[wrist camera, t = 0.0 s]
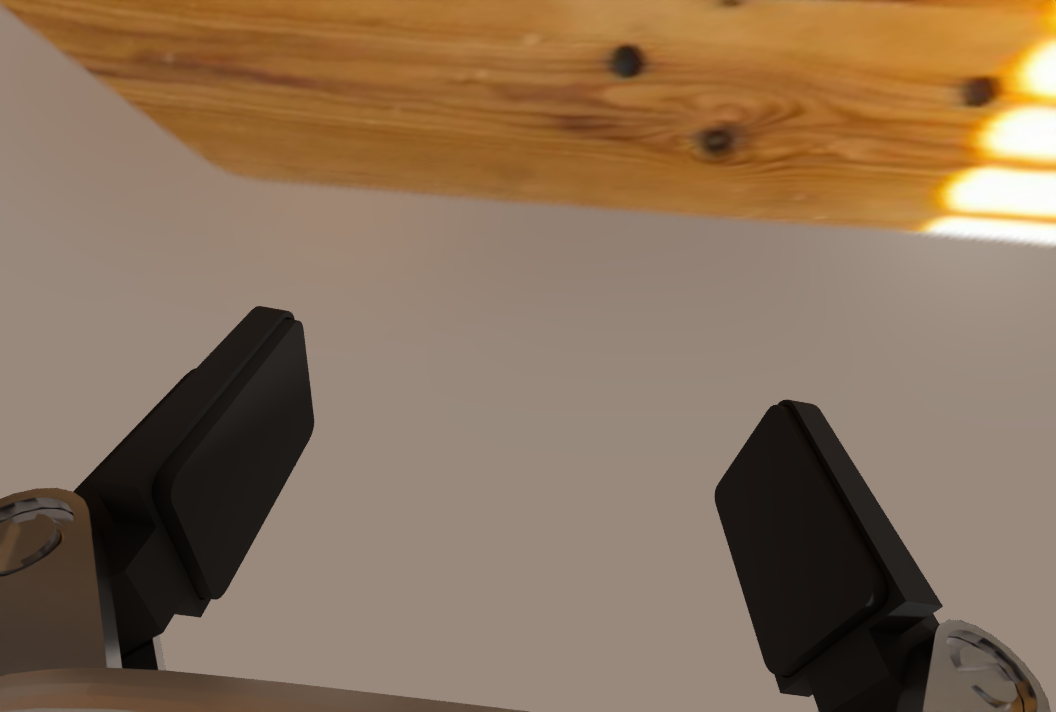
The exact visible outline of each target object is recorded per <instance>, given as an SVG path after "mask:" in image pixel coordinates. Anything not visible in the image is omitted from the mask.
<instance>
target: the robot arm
mask: <svg viewBox="0 0 1056 712" xmlns="http://www.w3.org/2000/svg"><path fill="white" fill-rule="evenodd" d="M313 427H314V415H313V407H312V398H311V389H310V381H309V372H308V364H307V355H306V347H305V339H304V330H303V325H302V323H301V322H300V321H297V320H294V316H293V314H292V313H291V312H289V311H285V310H279V309H273V308H268V307H262V306H257V307H255V308H254V309H252V310H251V311H250V312H249V314H248V315H247V316H246V317H245V318H244V319H243V320H242V321H241V322H240V323H239V324H238V325H237V326H236V327H235V328H234V329H233V330H232V331H231V332H230V334H229V335H228V336H227V337H226V338H225V339H224V340H223V341H222V342H221V343H220V344H219V345H218V346H217V347H216V348H215V349H214V351H213V352H211V353H210V355H209V356H208V357H207V358H206V359H205V360H204V361H203V362H202V363H201V364H200V365H199V366H198V367H197V368H196V369H193V370H191V371H190V372H189V373H188V374H186V375H185V376H184V377H183V378H182V379H181V380H180V381H179V382H178V384H176V385H175V387H174V388H173V389H172V390H171V391H170V392H169V393H168V394H167V395H166V396H165V397H164V398H163V399H162V400H161V401H160V402H159V403H158V404H157V405H156V406H155V407H154V408H153V409H152V410H151V411H150V413H148V415H147V416H146V417H145V418H144V419H143V420H142V421H141V422H140V423H139V424H138V425H137V426H136V427H135V428H134V429H133V430H132V431H131V432H130V433H129V434H128V435H127V437H125V438H124V439H123V441H122V442H121V443H120V444H119V445H118V446H117V447H116V448H115V449H114V450H113V451H112V452H111V453H110V454H109V455H108V456H107V457H106V458H105V459H104V460H103V461H102V462H101V463H100V464H99V465H98V466H97V467H96V469H95V470H94V471H93V472H92V473H91V474H90V475H89V476H88V477H87V478H86V479H85V480H84V481H83V482H82V483H81V484H80V485H79V486H78V487H77V488H76V489H75V490H74V491H73V492H72V491H68V490H63V489H59V488H41V489H32V490H28V491H24V492H19V493H14V494H11V495H9V496H6V497H4V498H1V499H0V712H528V711H520V710H511V709H503V708H496V707H487V706H479V705H471V704H462V703H454V702H446V701H437V700H429V699H421V698H411V697H403V696H395V695H387V694H378V693H369V692H361V691H353V690H344V689H335V688H327V687H319V686H310V685H302V684H293V683H285V682H274V681H265V680H255V679H245V678H234V677H225V676H215V675H205V674H195V673H194V674H193V673H184V672H175V671H166V668H165V663H164V658H163V652H162V647H161V642H160V636H159V635H160V634H161V633H163V632H164V630H165V629H166V627H167V625H168V624H169V622H170V620H171V619H172V617H173V616H174V614H179V615H186V616H194V617H201V616H202V614H203V613H204V611H205V609H206V607H207V605H208V604H209V602H210V600H211V599H219V598H220V597H221V596H222V595H223V594H224V593H225V591H226V590H227V588H228V587H229V585H230V583H231V581H232V579H233V577H234V576H235V574H236V572H237V570H238V568H239V567H240V564H241V563H242V561H243V559H244V557H245V555H246V554H247V552H248V550H249V548H250V546H251V545H252V543H253V541H254V539H255V537H256V535H257V534H258V532H259V530H260V528H261V526H262V524H263V523H264V521H265V519H266V517H267V516H268V514H269V512H270V510H271V508H272V507H273V505H274V503H275V501H276V499H277V497H278V496H279V494H280V492H281V490H282V488H283V486H284V485H285V483H286V481H287V479H288V477H289V476H290V474H291V472H292V470H293V468H294V466H295V465H296V463H297V461H298V459H299V457H300V456H301V454H302V452H303V450H304V448H305V447H306V445H307V443H308V441H309V439H310V437H311V435H312V431H313ZM715 503H716V507H717V510H718V513H719V516H720V520H721V523H722V526H723V529H724V533H725V536H726V539H727V542H728V545H729V548H730V552H731V555H732V559H733V562H734V565H735V568H736V572H737V575H738V578H739V581H740V584H741V588H742V591H743V594H744V598H745V601H746V604H747V607H748V610H749V614H750V617H751V620H752V623H753V627H754V630H755V633H756V636H757V640H758V643H759V646H760V649H761V652H762V656H763V659H764V662H765V664H766V666H767V668H768V670H769V671H770V672H771V673H773V674H775V678H776V681H777V684H778V687H779V690H780V693H783V694H791V695H799V696H806V697H809V696H811V695H812V694H813V695H814V698H815V701H816V704H817V707H818V712H1051V711H1050V706H1049V702H1048V699H1047V697H1046V695H1045V693H1044V691H1043V689H1042V687H1041V685H1040V683H1039V682H1038V680H1037V679H1036V678H1035V676H1034V675H1033V674H1032V672H1031V671H1030V670H1029V668H1028V667H1027V666H1026V664H1025V663H1024V662H1023V661H1022V660H1021V659H1020V658H1019V657H1018V656H1017V655H1016V654H1015V653H1014V652H1013V651H1012V650H1011V649H1010V648H1008V647H1007V646H1006V645H1004V644H1003V643H1002V642H1001V641H1000V640H998V639H997V638H996V637H994V636H993V635H992V634H989V633H988V632H986V631H985V630H983V629H981V628H979V627H978V626H976V625H973V624H970V623H967V622H964V621H962V620H947V621H945V622H943V623H941V624H939V623H938V621H937V620H936V618H935V616H934V614H933V613H934V612H936V611H937V610H938V609H940V608H941V607H943V606H942V604H941V603H940V601H939V600H938V598H937V596H936V595H935V593H934V592H933V590H932V588H931V587H930V585H929V583H928V582H927V580H926V579H925V577H924V575H923V574H922V573H921V571H920V569H919V567H918V566H917V564H916V563H915V561H914V559H913V558H912V556H911V555H910V553H909V551H908V550H907V548H906V547H905V545H904V544H903V542H902V540H901V539H900V537H899V535H898V534H897V532H896V531H895V529H894V527H893V526H892V524H891V523H890V521H889V519H888V518H887V516H886V515H885V513H884V511H883V510H882V509H881V507H880V505H879V503H878V502H877V500H876V499H875V497H874V495H873V494H872V492H871V491H870V489H869V487H868V486H867V484H866V483H865V481H864V479H863V478H862V476H861V475H860V473H859V471H858V470H857V469H856V467H855V465H854V463H853V462H852V460H851V459H850V457H849V455H848V454H847V452H846V451H845V449H844V447H843V446H842V444H841V443H840V441H839V439H838V438H837V436H836V435H835V433H834V431H833V430H832V428H831V427H830V425H829V423H828V422H827V420H826V419H825V417H824V415H823V414H822V412H821V411H820V409H819V408H818V407H817V406H815V405H813V404H809V403H804V402H798V401H792V400H783V401H781V402H779V404H778V405H773V406H771V407H770V408H769V409H768V411H767V412H766V414H765V415H764V417H763V418H762V419H761V421H760V423H759V424H758V426H757V427H756V428H755V430H754V431H753V433H752V434H751V436H750V437H749V439H748V440H747V442H746V443H745V445H744V446H743V448H742V449H741V451H740V452H739V454H738V455H737V457H736V458H735V460H734V461H733V463H732V464H731V466H730V467H729V469H728V470H727V471H726V473H725V474H724V476H723V477H722V479H721V481H720V482H719V484H718V485H717V487H716V490H715Z"/></svg>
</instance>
